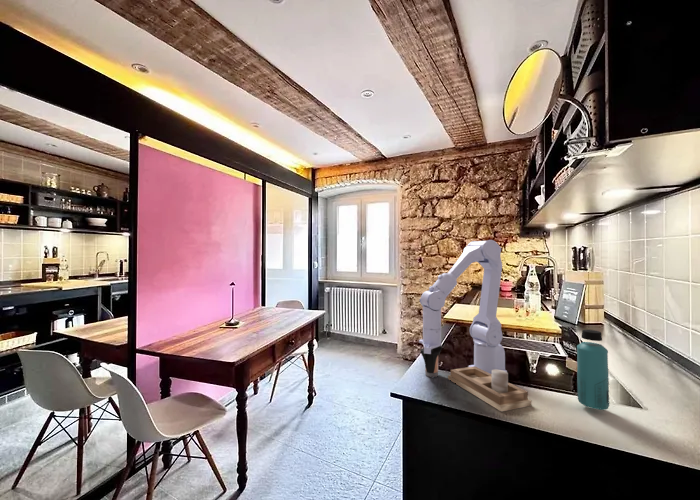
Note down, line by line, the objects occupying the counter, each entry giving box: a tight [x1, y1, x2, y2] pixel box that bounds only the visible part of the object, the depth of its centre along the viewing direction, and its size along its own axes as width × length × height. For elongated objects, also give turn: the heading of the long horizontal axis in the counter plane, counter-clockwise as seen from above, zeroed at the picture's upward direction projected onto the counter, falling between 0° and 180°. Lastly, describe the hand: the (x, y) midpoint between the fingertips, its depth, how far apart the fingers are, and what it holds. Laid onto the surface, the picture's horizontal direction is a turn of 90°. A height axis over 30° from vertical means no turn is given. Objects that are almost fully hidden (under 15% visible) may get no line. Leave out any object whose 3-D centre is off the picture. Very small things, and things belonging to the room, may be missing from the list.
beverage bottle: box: [576, 329, 611, 411], centre depth 78 cm, size 6×7×20 cm
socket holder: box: [447, 366, 532, 412], centre depth 88 cm, size 10×21×7 cm, turn 19°
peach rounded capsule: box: [424, 356, 439, 378], centre depth 99 cm, size 4×4×7 cm
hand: (431, 370), depth 99 cm, fingers open, 4 cm apart
